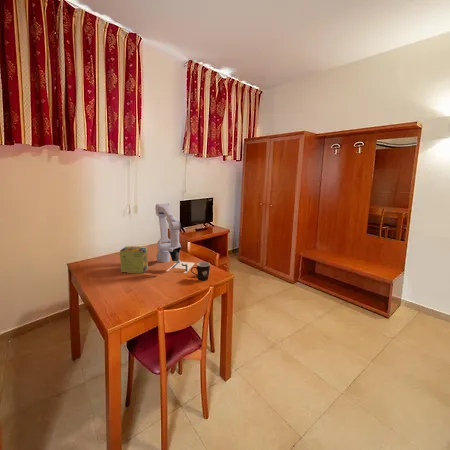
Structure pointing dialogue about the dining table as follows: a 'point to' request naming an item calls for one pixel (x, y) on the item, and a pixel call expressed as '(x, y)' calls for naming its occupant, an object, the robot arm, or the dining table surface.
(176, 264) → the cord run
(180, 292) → the dining table surface
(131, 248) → the protein box
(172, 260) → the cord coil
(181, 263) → the shelf board
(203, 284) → the dining table surface
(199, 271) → the coffee mug
